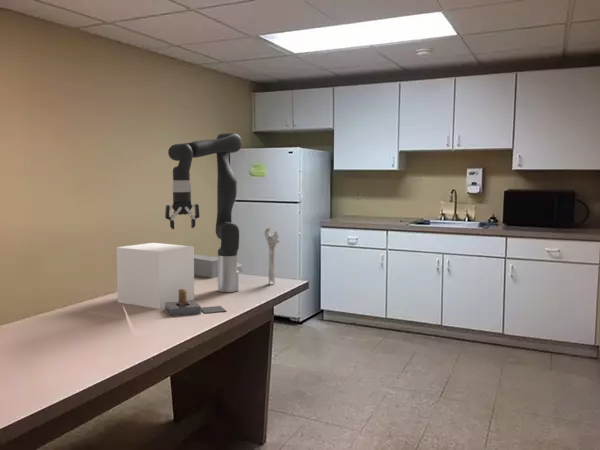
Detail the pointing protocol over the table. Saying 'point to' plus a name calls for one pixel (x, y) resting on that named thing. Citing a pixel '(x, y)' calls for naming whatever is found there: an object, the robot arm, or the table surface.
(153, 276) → the cube
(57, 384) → the table surface
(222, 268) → the robot arm
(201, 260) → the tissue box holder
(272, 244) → the wrench
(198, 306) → the gray square frame
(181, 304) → the wooden peg
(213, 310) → the mat
